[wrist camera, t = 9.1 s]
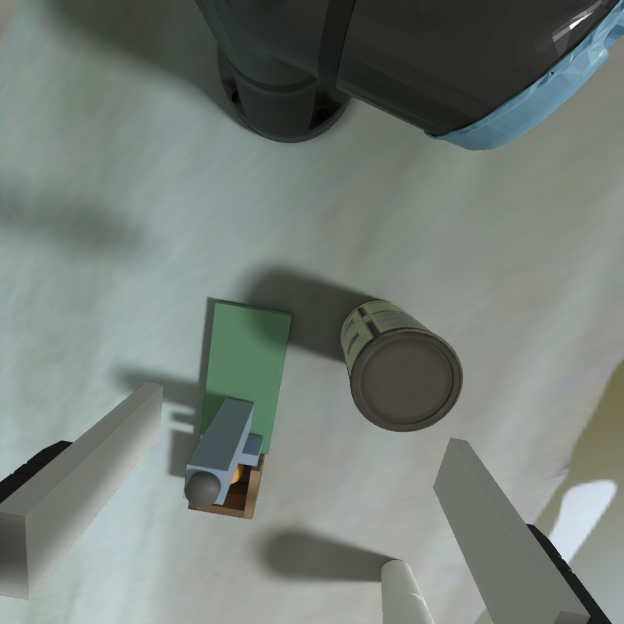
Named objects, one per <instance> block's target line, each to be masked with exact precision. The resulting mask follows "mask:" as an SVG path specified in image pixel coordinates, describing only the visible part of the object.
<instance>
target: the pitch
mask: <svg viewBox="0 0 624 624" xmlns="http://www.w3.org/2000/svg"><path fill="white" fill-rule="evenodd" d="M291 320H292V314H291V313H285V312H280V311H274V310H269V309H263V308H258V307H252V306H247V305H241V304H236V303H230V302H225V301H217V302H215V310H214V319H213V328H212V336H211V345H210V354H209V363H208V372H207V381H206V390H205V399H204V408H203V416H202V425H201V434H200V440H201V438H202V436H203V435H204V433H205V431H206V430H207V428H208V427H209V426H210V424H211V423H212V421H213V419H214V418H215V416H216V414H217V413H218V411H219V409H220V407H221V406H222V404H223V402H224V401H225V399H226V398H228V399H234V400H240V401H245V402H251V403H255V404H254V410H253V417H252V423H251V429H250V432H249V434H250V435H256V436H262V437H264V438H263V444H262V448H261V452H260V453H262V454H268V452H269V447H270V441H271V436H272V430H273V424H274V418H275V412H276V407H277V401H278V395H279V389H280V383H281V378H282V372H283V366H284V360H285V354H286V349H287V343H288V337H289V331H290V325H291Z"/></svg>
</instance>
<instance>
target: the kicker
mask: <svg viewBox="0 0 624 624" xmlns="http://www.w3.org/2000/svg"><path fill="white" fill-rule="evenodd" d="M254 404H255V403H251V402H245V401H240V400H234V399H228V398H226V399H225V401H224V402H223V404H222V406H221V407H220V409H219V411H218V413H217V414H216V416H215V418H214V419H213V421H212V423H211V424H210V426H209V427H208V428H207V430H206V431H205V433H204V435H203V436H202V438H201V440H200V441H199V443H198V445H197V448H196V450H195V451H194V453H193V455H192V457H191V458H190V460H189V462H188V463H187V467H186V477H185V487H184V496H183V498H185V499H188V501H189V502H190V503H192V504H193V505H195V506H199V507H207V506H210V505H212V504H213V503H214V504H220V505H223V503H224V500H225V497H226V495H227V492H228V489H229V486H230V484H231V481H232V478H233V476H234V473H235V470H236V467H237V465H238V463H240V464H246V465H251V466H257V463H258V459H259V456H260V452H261V448H262V444H263V438H264V437H262V436H256V435H250V434H249V432H250V429H251V423H252V417H253V410H254Z"/></svg>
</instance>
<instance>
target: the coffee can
mask: <svg viewBox="0 0 624 624" xmlns="http://www.w3.org/2000/svg"><path fill="white" fill-rule="evenodd" d="M340 341H341V346H342V350H343V353H344V357H345V361H346V365H347V370H348V374H349V378H350V388H351V394H352V397H353V400H354V403H355V405H356V406H357V408H358V410H359V411H360V412H361V414H362V415H363V416H364V417H365V418H366V419H368V420H369V421H370V422H372V423H373V424H375V425H377V426H379V427H381V428H383V429H386V430H390V431H396V432H410V431H417V430H421V429H424V428H427V427H429V426H431V425H433V424H435V423H436V422H438V421H439V420H441V419H442V418H444V417H445V416H446V415H447V414H448V413H449V412H450V410H451V409H452V408H453V406H454V405H455V404H456V402H457V400H458V398H459V395H460V393H461V389H462V384H463V371H462V366H461V363H460V360H459V358H458V356H457V354H456V352H455V351H454V349H453V348H452V347H451V346H450V345H449V344H448V343H447V342H446V341H445V340H444V339H442V338H441V337H439V336H438V335H436V334H434V333H432V332H431V331H430V330H429V329H427V328H426V327H425V326H423V325H422V324H421V323H420V322H418V321H417V320H416V319H414V318H413V317H412V316H411V315H409V314H408V313H407V312H406V311H405V310H404V309H403V308H402V307H400V306H398V305H397V304H394V303H392V302H388V301H378V300H376V301H371V302H367V303H364V304H362V305H360V306H358V307H357V308H355V309H354V310H353V311H352V312H351V313H350V314H349V315H348V317H347V318H346V320H345V322H344V324H343V326H342V329H341V335H340Z"/></svg>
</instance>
